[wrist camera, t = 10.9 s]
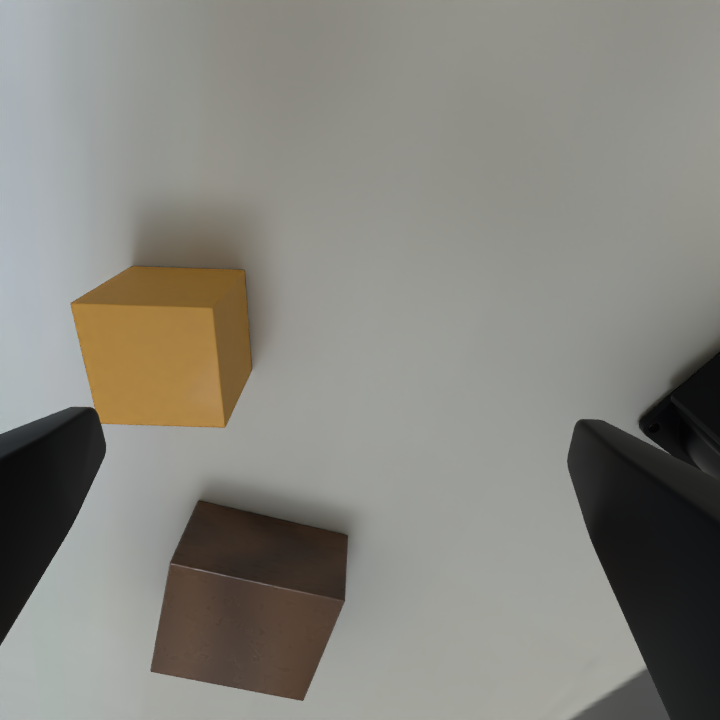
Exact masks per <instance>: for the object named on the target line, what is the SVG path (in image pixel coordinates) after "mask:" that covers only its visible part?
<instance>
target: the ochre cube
mask: <svg viewBox="0 0 720 720" xmlns="http://www.w3.org/2000/svg"><path fill="white" fill-rule="evenodd" d="M71 308H72V313H73V317H74V321H75V325H76V330H77V334H78V338H79V342H80V347H81V351H82V355H83V359H84V364H85V368H86V372H87V376H88V381H89V385H90V389H91V393H92V398H93V402H94V406H95V410H96V411H97V412H98V415H99V418H100V422H101V424H127V425H159V426H190V427H221V428H224V427H226V425H227V423H228V420H229V418H230V416H231V414H232V412H233V410H234V408H235V405H236V403H237V401H238V399H239V397H240V395H241V393H242V390H243V388H244V386H245V384H246V382H247V380H248V378H249V375H250V373H251V371H252V365H251V352H250V338H249V324H248V310H247V297H246V283H245V271H244V270H235V269H204V268H173V267H143V266H131V267H129V268H128V269H126V270H125V271H123V272H121V273H120V274H118V275H116V276H115V277H113V278H111V279H110V280H108V281H106V282H105V283H103V284H101V285H100V286H98V287H96V288H95V289H93V290H91V291H90V292H88V293H86V294H85V295H83V296H81V297H80V298H78V299H76V300H75V301H73V302H71Z"/></svg>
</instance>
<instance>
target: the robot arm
mask: <svg viewBox="0 0 720 720" xmlns="http://www.w3.org/2000/svg"><path fill="white" fill-rule="evenodd" d="M653 423H656V424H655V425H654V426H653V427H650V425H652V424H653ZM649 427H650V428H649ZM639 428H640V429H641V430H642V432H643V433H644V434H645V435H646V436H647V437H649V438H650V439H651V440H653V441H654V442H655V443H657V444H658V445H659V446H660V447H662V448H663V449H664V450H666V451H667V452H668V453H670V454H671V455H670V454H668V453H666V452H664V451H662V450H660V449H658V448H656V447H654V446H652V445H650V444H648V443H646V442H644V441H642V440H640V439H638V438H636V437H634V436H632V435H630V434H628V433H626V432H624V431H623V430H621V429H619V428H617V427H615V426H613V425H611V424H609V423H607V422H605V421H603V420H594V419H581V420H579V421H578V422H577V423H576V425H575V427H574V431H573V436H572V440H571V444H570V448H569V453H568V459H567V463H568V469H569V473H570V476H571V479H572V482H573V486H574V489H575V492H576V495H577V498H578V502H579V505H580V508H581V511H582V514H583V518H584V521H585V524H586V527H587V530H588V533H589V536H590V539H591V541H592V544H593V546H594V549H595V551H596V553H597V556H598V558H599V560H600V562H601V565H602V567H603V569H604V571H605V574H606V576H607V578H608V580H609V583H610V585H611V587H612V589H613V592H614V594H615V596H616V598H617V601H618V603H619V605H620V607H621V610H622V612H623V614H624V616H625V619H626V621H627V623H628V625H629V628H630V630H631V632H632V634H633V637H634V639H635V641H636V643H637V646H638V648H639V650H640V652H641V655H642V657H643V659H644V661H645V664H646V666H647V668H648V670H649V673H650V675H651V677H652V679H653V682H654V684H655V686H656V688H657V691H658V693H659V695H660V697H661V700H662V702H663V704H664V706H665V708H666V711H667V713H668V715H669V718H670V720H720V352H719V353H718V354H717V355H716V356H715V357H713V358H712V359H711V360H710V361H709V362H707V363H706V364H705V365H704V366H703V367H702V368H700V369H699V370H698V371H697V372H696V373H695V374H693V375H692V376H691V377H690V378H689V379H687V380H686V381H685V382H684V383H683V384H682V385H680V386H679V387H678V388H677V389H676V390H675V391H673V392H672V393H671V394H670V395H669V396H667V397H666V398H665V399H664V400H663V401H662V402H660V403H659V404H658V405H657V406H656V407H655V408H653V409H652V410H651V411H650V412H649V413H647V414H646V415H645V416H644V417H643V418H642V419H641V420H640V422H639ZM105 453H106V442H105V438H104V434H103V430H102V426H101V422H100V418H99V415H98V412H97V411H96V410H95V409H94V408H91V407H70V408H67V409H64V410H62V411H59V412H57V413H54V414H52V415H49V416H46V417H44V418H41V419H39V420H36V421H33V422H31V423H28V424H26V425H23V426H20V427H18V428H15V429H13V430H10V431H8V432H5V433H2V434H0V645H1V644H2V642H3V640H4V639H5V637H6V635H7V634H8V632H9V630H10V629H11V627H12V625H13V624H14V622H15V620H16V619H17V617H18V615H19V614H20V612H21V610H22V609H23V607H24V605H25V604H26V602H27V600H28V599H29V597H30V595H31V594H32V592H33V590H34V589H35V587H36V585H37V584H38V582H39V580H40V579H41V577H42V575H43V574H44V572H45V571H46V569H47V567H48V566H49V564H50V562H51V561H52V559H53V557H54V556H55V554H56V552H57V551H58V549H59V547H60V546H61V544H62V542H63V541H64V539H65V537H66V535H67V534H68V532H69V530H70V528H71V527H72V525H73V523H74V521H75V519H76V517H77V515H78V513H79V511H80V509H81V506H82V504H83V502H84V500H85V498H86V496H87V493H88V491H89V489H90V487H91V485H92V483H93V481H94V478H95V476H96V474H97V472H98V470H99V468H100V465H101V463H102V461H103V459H104V456H105Z"/></svg>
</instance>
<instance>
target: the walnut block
mask: <svg viewBox="0 0 720 720" xmlns="http://www.w3.org/2000/svg"><path fill="white" fill-rule="evenodd" d="M347 545H348V536H347V535H343V534H339V533H334V532H330V531H326V530H322V529H317V528H313V527H309V526H304V525H300V524H296V523H291V522H287V521H283V520H279V519H274V518H270V517H266V516H261V515H257V514H253V513H249V512H244V511H240V510H236V509H231V508H227V507H223V506H219V505H214V504H210V503H206V502H201V501H198V502H197V504H196V506H195V508H194V510H193V513H192V515H191V517H190V519H189V522H188V524H187V526H186V528H185V530H184V533H183V535H182V537H181V539H180V542H179V544H178V546H177V548H176V550H175V553H174V555H173V557H172V559H171V562H170V565H169V571H168V576H167V582H166V587H165V593H164V598H163V604H162V609H161V615H160V620H159V626H158V631H157V637H156V642H155V648H154V653H153V659H152V664H151V672H155V673H160V674H165V675H171V676H176V677H181V678H186V679H191V680H197V681H202V682H207V683H212V684H217V685H223V686H228V687H233V688H238V689H244V690H249V691H254V692H259V693H264V694H270V695H275V696H280V697H285V698H290V699H296V700H301V701H303V700H304V698H305V696H306V693H307V691H308V688H309V686H310V684H311V681H312V679H313V676H314V674H315V672H316V669H317V667H318V664H319V662H320V659H321V657H322V655H323V652H324V650H325V647H326V645H327V643H328V640H329V638H330V635H331V633H332V631H333V628H334V626H335V623H336V621H337V618H338V616H339V614H340V611H341V609H342V606H343V604H344V602H345V588H346V567H347Z"/></svg>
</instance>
